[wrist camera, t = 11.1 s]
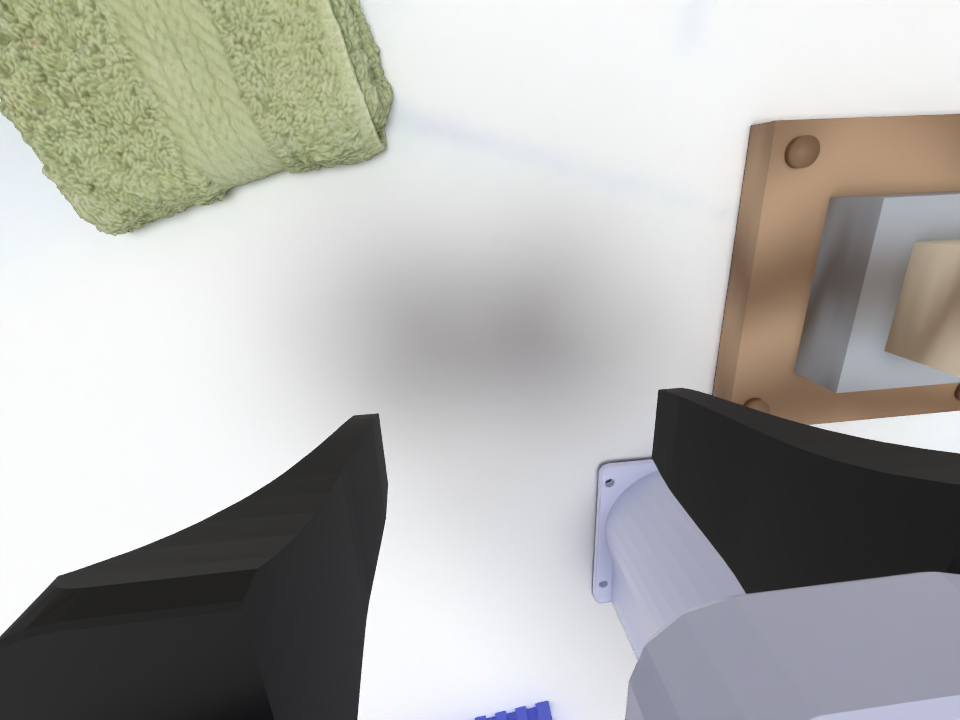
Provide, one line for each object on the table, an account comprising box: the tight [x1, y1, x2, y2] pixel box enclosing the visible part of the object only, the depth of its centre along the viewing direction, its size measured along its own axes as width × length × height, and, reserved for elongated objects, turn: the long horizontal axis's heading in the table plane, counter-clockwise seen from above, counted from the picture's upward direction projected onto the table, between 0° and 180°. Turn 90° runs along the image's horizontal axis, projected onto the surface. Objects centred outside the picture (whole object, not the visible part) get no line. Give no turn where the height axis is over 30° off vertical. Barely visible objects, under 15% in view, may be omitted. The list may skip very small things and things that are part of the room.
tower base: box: [712, 114, 960, 425], centre depth 21 cm, size 14×14×4 cm
